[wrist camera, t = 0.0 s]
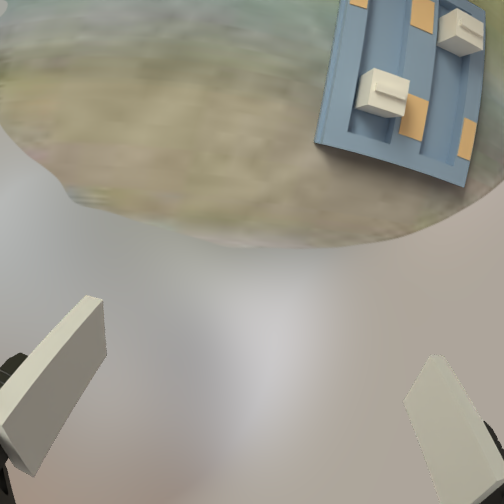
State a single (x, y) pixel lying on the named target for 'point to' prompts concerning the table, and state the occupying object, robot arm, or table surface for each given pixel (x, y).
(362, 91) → the tab
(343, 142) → the switch bank
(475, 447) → the robot arm
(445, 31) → the tab
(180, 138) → the table surface
